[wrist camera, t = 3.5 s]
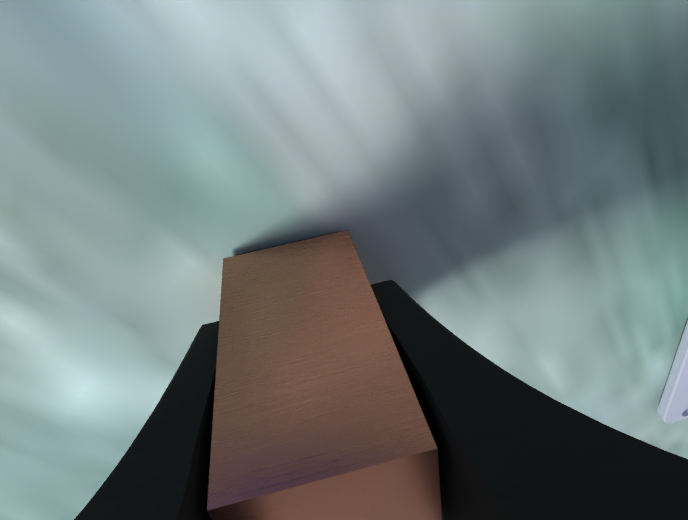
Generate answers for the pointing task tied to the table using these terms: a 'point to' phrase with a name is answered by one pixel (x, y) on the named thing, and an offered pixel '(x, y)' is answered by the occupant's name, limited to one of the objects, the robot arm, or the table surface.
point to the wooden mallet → (314, 395)
